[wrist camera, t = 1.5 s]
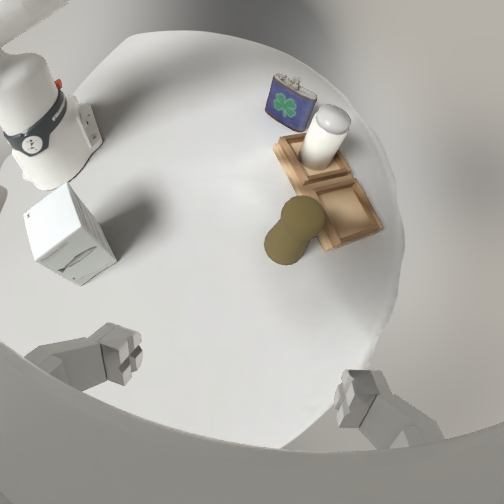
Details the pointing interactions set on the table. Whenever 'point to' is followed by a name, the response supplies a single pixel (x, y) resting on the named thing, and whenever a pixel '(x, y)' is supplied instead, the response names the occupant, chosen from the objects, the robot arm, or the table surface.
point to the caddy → (330, 194)
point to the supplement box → (67, 236)
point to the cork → (294, 229)
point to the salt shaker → (324, 137)
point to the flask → (290, 102)
